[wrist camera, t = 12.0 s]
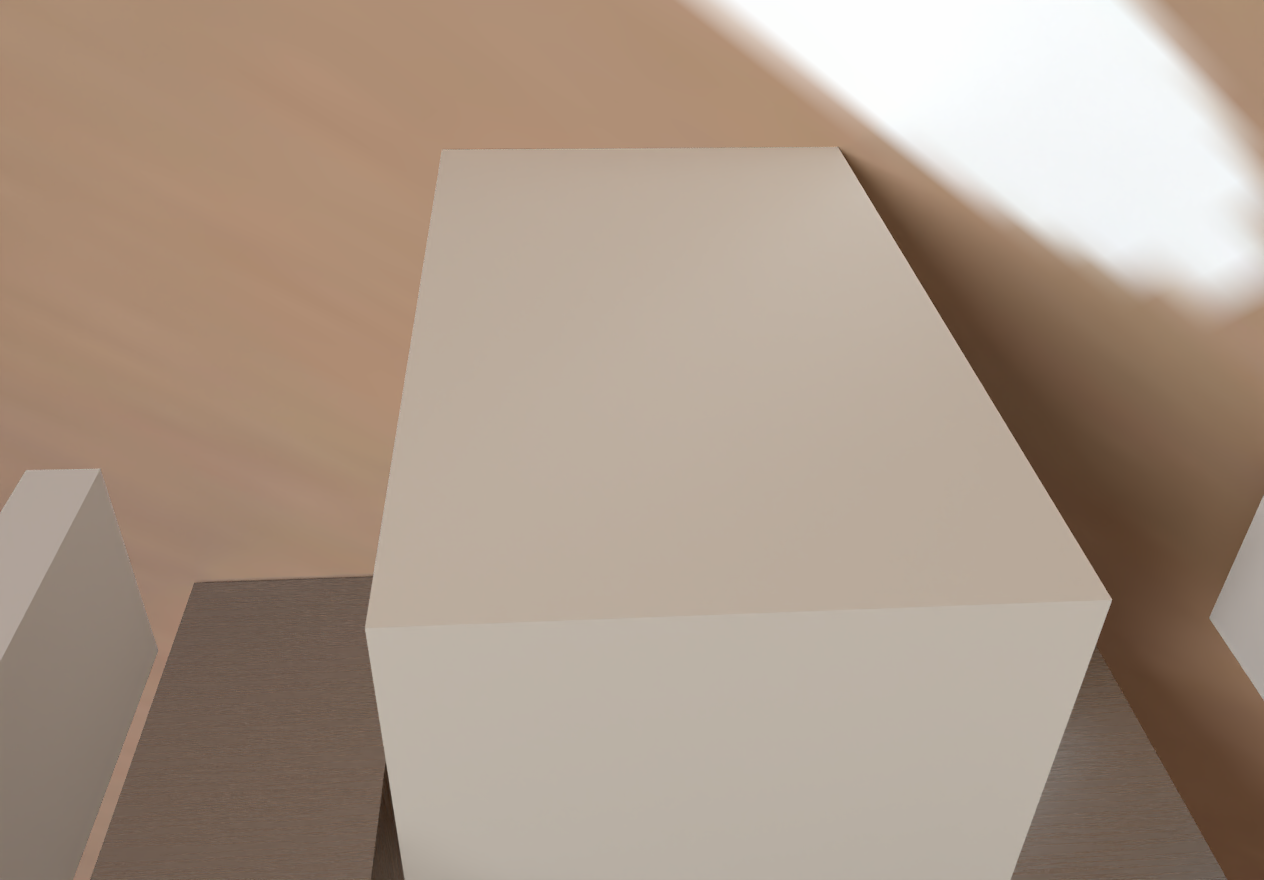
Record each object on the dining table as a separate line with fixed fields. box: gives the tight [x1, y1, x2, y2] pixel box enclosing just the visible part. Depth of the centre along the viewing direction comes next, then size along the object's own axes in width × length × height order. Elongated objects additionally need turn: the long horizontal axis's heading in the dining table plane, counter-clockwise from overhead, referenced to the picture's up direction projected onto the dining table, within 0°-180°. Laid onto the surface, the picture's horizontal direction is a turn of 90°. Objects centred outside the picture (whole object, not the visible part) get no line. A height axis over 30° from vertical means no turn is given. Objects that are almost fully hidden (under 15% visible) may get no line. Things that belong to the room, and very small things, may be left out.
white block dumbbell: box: [365, 147, 1112, 880], centre depth 19 cm, size 6×21×10 cm, turn 179°
